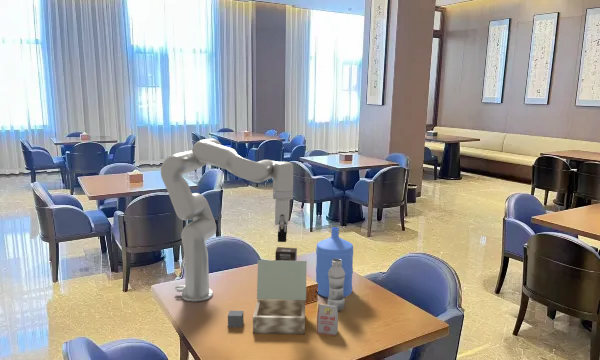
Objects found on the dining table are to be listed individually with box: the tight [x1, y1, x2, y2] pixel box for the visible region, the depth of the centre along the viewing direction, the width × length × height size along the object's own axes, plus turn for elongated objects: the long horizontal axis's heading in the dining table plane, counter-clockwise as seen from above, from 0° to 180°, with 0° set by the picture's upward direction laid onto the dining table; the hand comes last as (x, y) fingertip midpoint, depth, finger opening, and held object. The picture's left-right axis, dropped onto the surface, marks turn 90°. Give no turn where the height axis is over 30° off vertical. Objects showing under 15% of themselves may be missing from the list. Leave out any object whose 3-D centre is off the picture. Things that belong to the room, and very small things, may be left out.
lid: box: [256, 259, 308, 301], centre depth 172 cm, size 19×15×1 cm
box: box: [252, 299, 306, 335], centre depth 164 cm, size 18×14×6 cm
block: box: [227, 310, 244, 328], centre depth 163 cm, size 5×4×4 cm
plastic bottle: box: [327, 259, 346, 312], centre depth 175 cm, size 6×7×20 cm
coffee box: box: [274, 246, 298, 261], centre depth 199 cm, size 9×6×16 cm
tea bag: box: [316, 303, 339, 337], centre depth 158 cm, size 4×7×10 cm, turn 74°
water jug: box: [315, 226, 354, 299], centre depth 191 cm, size 16×16×28 cm
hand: (282, 237), depth 174 cm, fingers open, 9 cm apart
